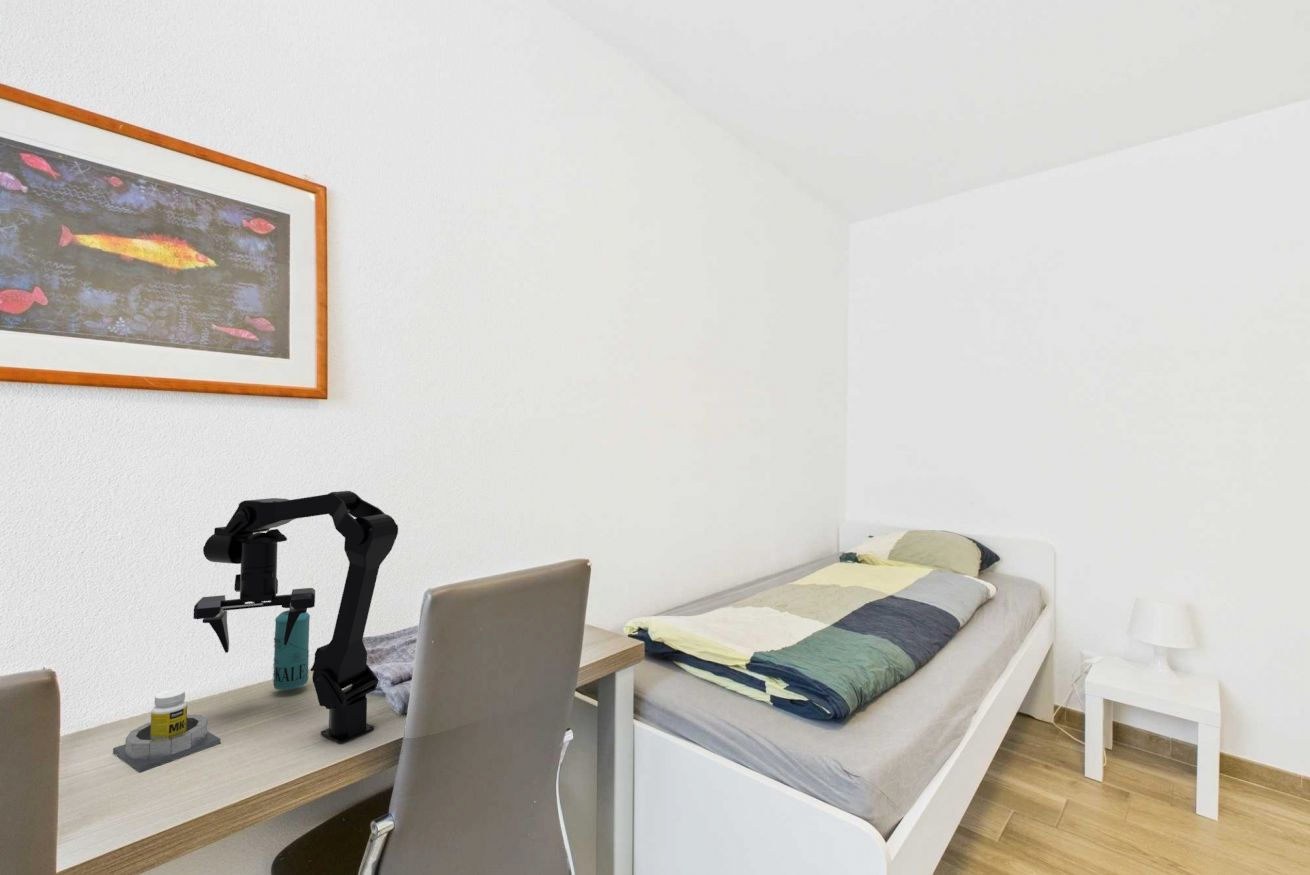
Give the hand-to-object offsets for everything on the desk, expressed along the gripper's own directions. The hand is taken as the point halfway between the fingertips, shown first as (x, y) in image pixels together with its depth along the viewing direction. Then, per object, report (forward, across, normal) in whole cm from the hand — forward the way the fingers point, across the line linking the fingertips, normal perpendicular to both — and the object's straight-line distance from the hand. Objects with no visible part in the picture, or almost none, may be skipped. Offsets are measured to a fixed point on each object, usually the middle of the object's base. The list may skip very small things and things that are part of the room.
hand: (256, 648), depth 112 cm
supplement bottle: (+12, +12, +7) cm, 18 cm away
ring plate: (+13, +12, +7) cm, 19 cm away
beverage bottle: (+13, -5, -11) cm, 18 cm away
